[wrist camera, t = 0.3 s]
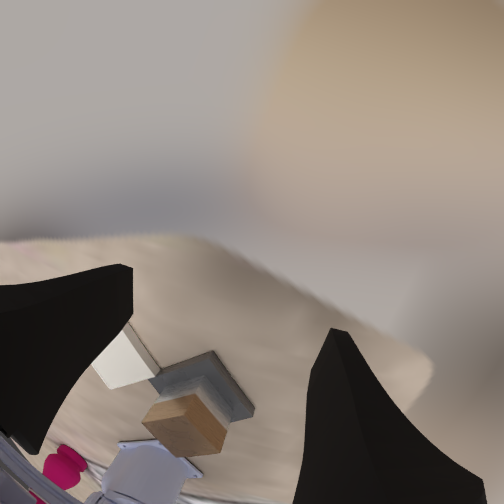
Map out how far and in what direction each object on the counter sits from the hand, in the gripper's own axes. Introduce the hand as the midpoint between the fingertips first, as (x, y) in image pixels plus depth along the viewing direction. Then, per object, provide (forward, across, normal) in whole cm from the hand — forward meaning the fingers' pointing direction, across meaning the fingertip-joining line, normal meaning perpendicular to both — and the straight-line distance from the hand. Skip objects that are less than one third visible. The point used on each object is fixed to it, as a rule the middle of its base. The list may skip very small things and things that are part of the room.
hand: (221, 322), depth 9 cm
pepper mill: (+4, +24, +47) cm, 53 cm away
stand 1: (+8, +11, +14) cm, 20 cm away
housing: (+7, +2, +15) cm, 17 cm away
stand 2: (+8, +2, +15) cm, 17 cm away
